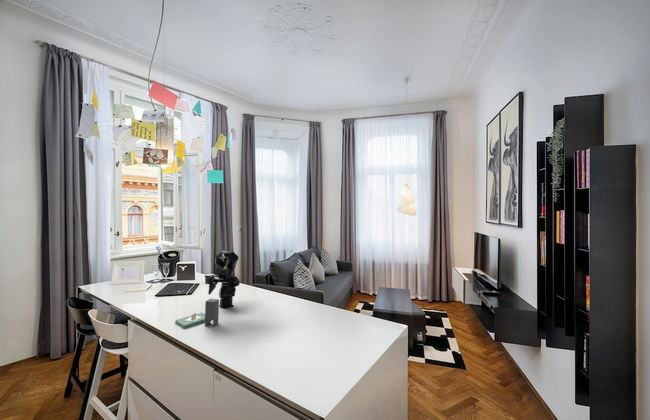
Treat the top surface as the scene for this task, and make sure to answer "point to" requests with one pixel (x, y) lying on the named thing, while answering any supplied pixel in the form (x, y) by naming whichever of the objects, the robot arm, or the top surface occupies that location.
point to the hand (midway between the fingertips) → (216, 294)
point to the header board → (191, 320)
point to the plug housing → (211, 311)
